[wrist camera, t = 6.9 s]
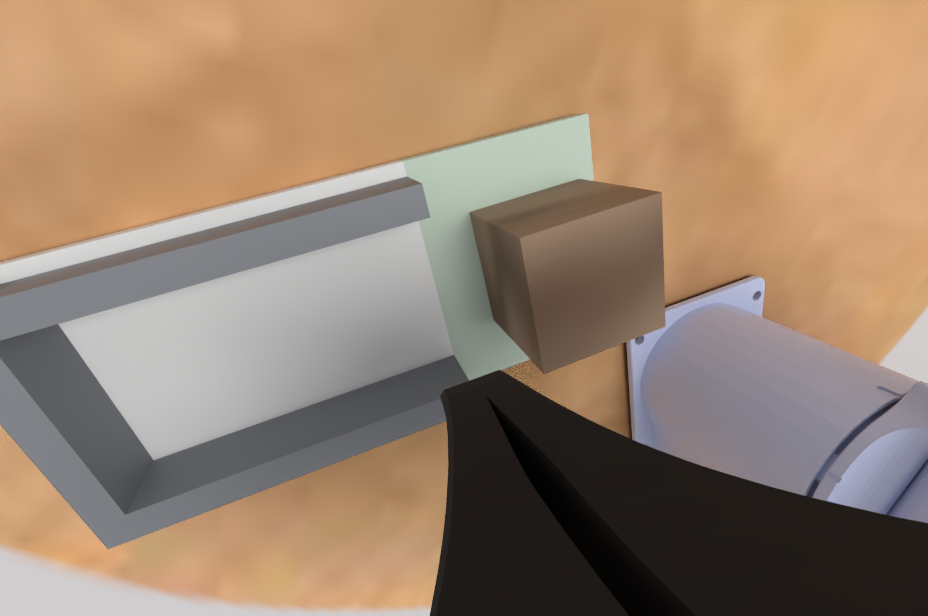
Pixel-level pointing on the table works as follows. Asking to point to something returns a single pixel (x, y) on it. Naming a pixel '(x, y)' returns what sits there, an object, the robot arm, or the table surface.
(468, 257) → the bay board
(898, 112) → the table surface
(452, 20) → the table surface
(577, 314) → the walnut cube
